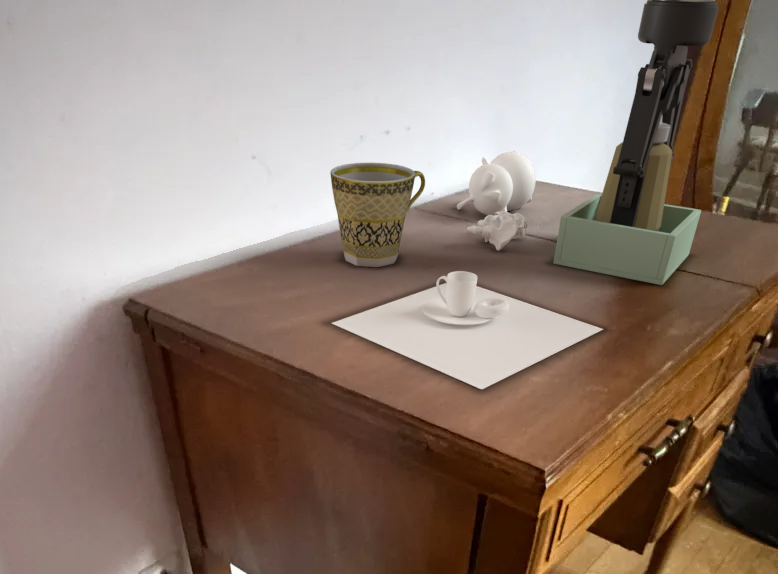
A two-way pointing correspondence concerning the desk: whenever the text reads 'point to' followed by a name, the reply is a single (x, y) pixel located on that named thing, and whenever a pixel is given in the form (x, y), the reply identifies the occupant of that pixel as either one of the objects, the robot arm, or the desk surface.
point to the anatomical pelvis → (500, 228)
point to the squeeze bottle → (652, 188)
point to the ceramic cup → (373, 209)
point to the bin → (625, 243)
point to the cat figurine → (501, 184)
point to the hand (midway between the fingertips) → (629, 225)
